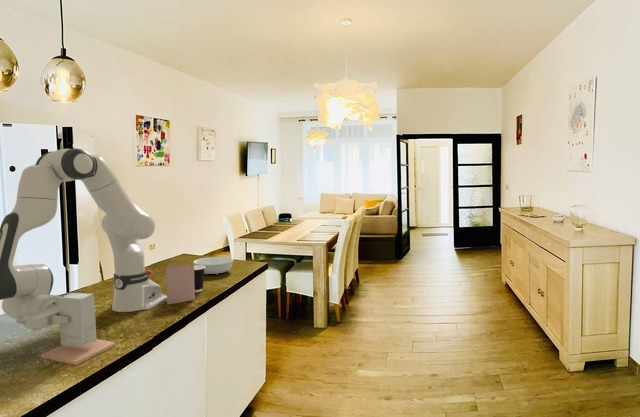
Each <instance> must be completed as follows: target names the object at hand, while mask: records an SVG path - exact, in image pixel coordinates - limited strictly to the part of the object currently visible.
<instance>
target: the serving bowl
mask: <svg viewBox="0 0 640 417" xmlns="http://www.w3.org/2000/svg"><path fill="white" fill-rule="evenodd" d="M192 263H193V265H194V266H195V265H202V266H205V269H204V275H208V274H216V275H220V274H219V273H221V274H222V273H227V271H229V270H231V268H232V267H233V264H234V259H233V258H231V257H225V256H212V257H210V256H209V257H203V258H198V259H195V260H194V261H192Z"/></svg>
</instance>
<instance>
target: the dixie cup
mask: <svg viewBox="0 0 640 417" xmlns="http://www.w3.org/2000/svg"><path fill="white" fill-rule="evenodd" d="M204 269H205V266H202V265H195V266H194V284H195V293H199V292H202V291H203V288H204V280H205V278H204V277H205V274H204Z"/></svg>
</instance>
